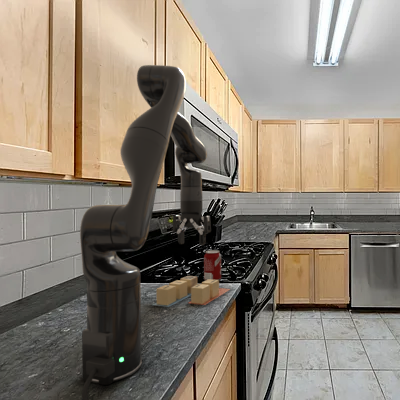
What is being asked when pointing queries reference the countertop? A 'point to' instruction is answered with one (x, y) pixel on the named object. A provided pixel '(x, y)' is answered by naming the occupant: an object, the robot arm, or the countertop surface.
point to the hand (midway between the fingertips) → (191, 244)
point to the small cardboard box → (190, 282)
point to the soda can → (212, 265)
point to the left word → (171, 293)
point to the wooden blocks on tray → (206, 292)
